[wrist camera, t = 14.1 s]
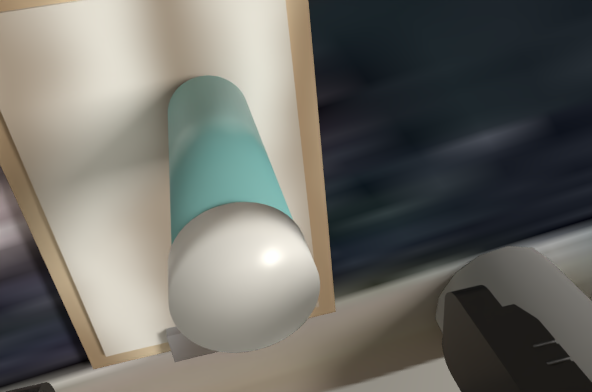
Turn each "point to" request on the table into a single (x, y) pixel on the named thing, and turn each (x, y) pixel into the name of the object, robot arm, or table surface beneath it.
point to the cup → (532, 296)
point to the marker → (230, 227)
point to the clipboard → (143, 144)
